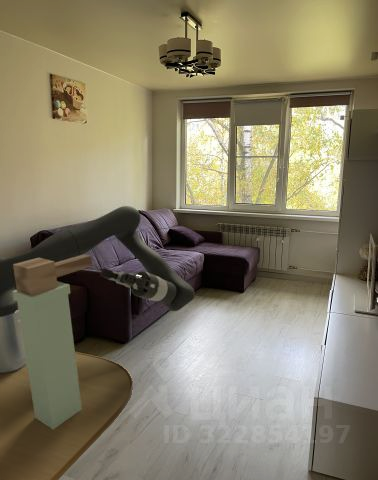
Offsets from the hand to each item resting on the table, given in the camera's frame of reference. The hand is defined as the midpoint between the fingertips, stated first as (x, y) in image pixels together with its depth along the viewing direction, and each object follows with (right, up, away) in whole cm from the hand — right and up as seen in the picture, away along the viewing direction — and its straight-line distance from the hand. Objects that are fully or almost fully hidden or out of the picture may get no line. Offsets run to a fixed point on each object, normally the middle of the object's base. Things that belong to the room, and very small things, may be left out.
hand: (112, 274), depth 98 cm
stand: (-11, -33, -10) cm, 36 cm away
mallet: (-9, 0, -13) cm, 16 cm away
